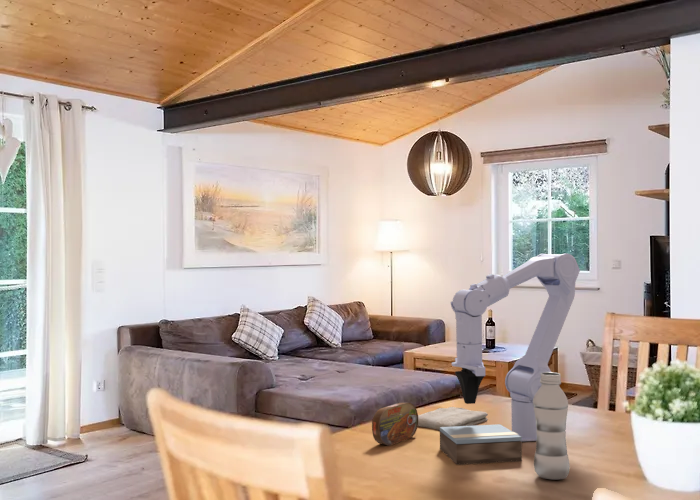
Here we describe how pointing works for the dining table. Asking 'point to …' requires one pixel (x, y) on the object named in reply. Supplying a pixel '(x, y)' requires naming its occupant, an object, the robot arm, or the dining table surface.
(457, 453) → the box
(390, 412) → the tin
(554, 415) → the plastic bottle
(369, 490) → the dining table surface
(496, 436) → the lid
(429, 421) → the washcloth
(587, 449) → the dining table surface
